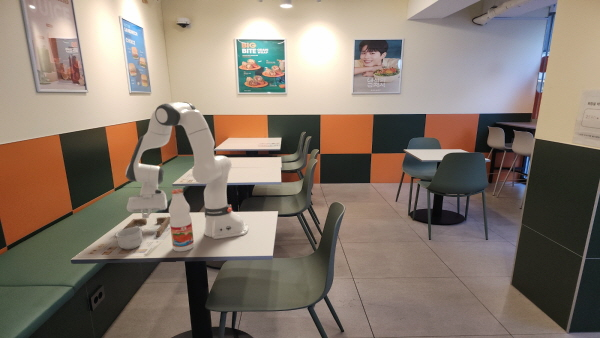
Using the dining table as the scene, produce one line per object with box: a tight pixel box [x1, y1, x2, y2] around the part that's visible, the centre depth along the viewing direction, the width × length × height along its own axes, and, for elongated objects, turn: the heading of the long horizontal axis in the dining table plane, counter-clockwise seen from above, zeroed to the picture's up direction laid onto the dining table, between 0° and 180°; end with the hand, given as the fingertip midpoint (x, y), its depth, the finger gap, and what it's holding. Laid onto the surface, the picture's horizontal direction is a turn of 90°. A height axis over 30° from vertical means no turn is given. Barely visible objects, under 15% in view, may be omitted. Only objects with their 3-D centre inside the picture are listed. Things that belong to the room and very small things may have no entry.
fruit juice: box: [168, 188, 195, 253], centre depth 152 cm, size 9×9×28 cm
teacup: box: [115, 225, 144, 250], centre depth 158 cm, size 14×11×8 cm
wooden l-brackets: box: [121, 216, 171, 237], centre depth 177 cm, size 20×20×3 cm
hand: (145, 217), depth 175 cm, fingers closed
